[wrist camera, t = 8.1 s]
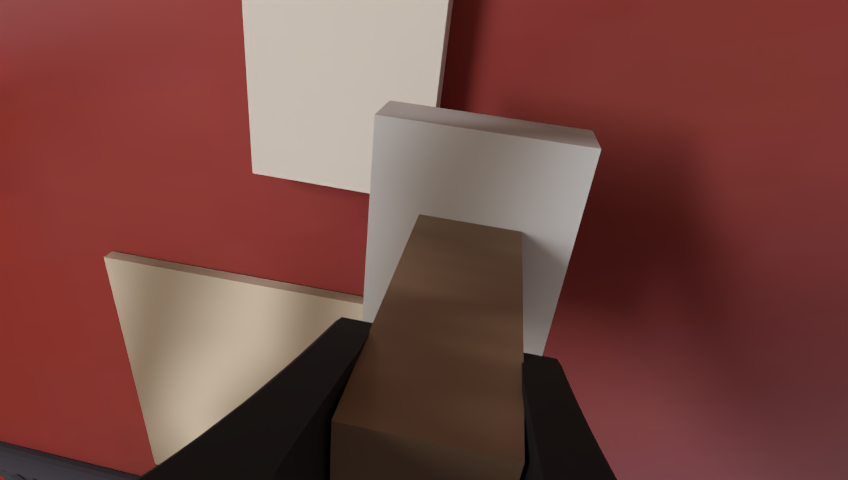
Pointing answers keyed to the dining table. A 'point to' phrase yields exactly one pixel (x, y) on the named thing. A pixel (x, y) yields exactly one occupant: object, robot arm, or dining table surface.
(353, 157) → the tile
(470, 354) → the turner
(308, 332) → the board
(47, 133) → the dining table surface
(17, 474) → the bracket
